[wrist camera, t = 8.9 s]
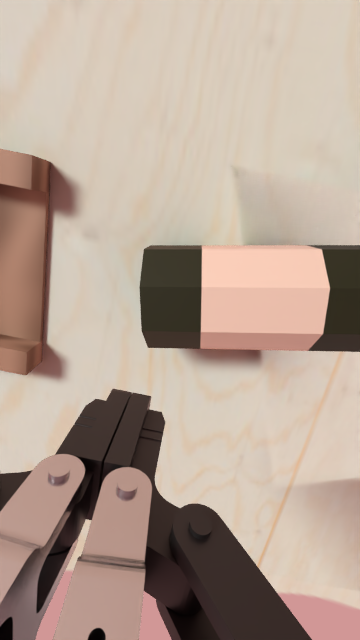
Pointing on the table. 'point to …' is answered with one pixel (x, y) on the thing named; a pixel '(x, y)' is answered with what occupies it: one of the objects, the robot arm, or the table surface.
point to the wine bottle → (251, 297)
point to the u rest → (22, 259)
